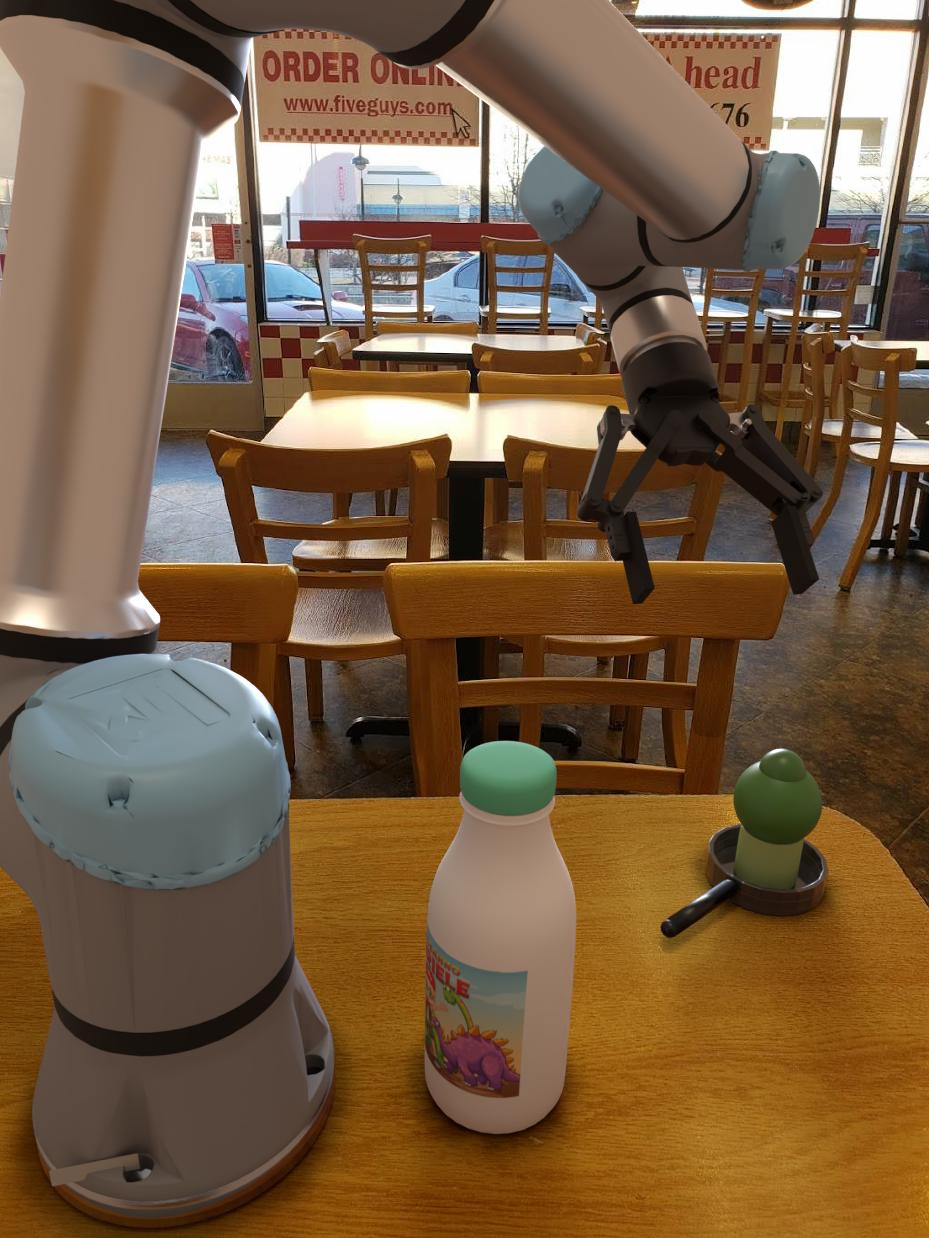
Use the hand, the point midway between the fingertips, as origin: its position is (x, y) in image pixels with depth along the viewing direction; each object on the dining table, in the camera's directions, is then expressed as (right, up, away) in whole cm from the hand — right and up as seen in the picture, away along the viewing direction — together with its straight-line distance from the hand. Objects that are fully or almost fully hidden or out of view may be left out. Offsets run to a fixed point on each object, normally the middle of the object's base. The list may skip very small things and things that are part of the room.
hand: (726, 592), depth 72 cm
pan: (+2, -21, -3) cm, 21 cm away
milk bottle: (-18, -28, -20) cm, 39 cm away
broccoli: (+2, -21, -3) cm, 21 cm away
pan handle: (-4, -23, -8) cm, 24 cm away
